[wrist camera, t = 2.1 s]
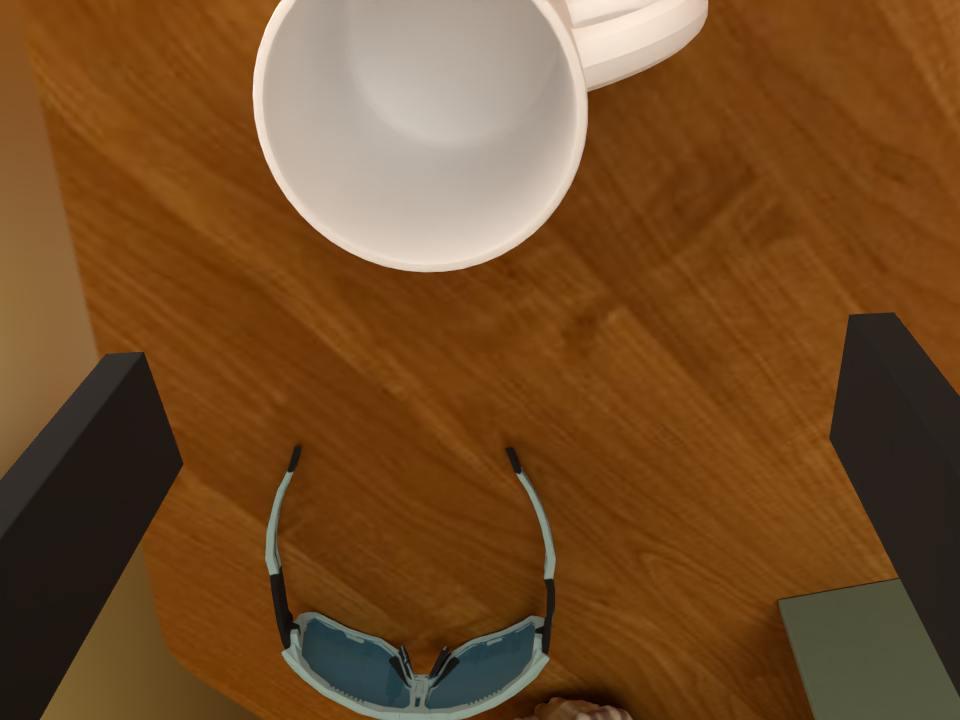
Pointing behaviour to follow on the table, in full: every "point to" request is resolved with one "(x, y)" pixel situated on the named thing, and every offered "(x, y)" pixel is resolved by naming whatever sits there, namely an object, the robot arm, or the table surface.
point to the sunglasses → (388, 672)
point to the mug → (443, 114)
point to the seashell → (575, 711)
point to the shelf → (867, 656)
